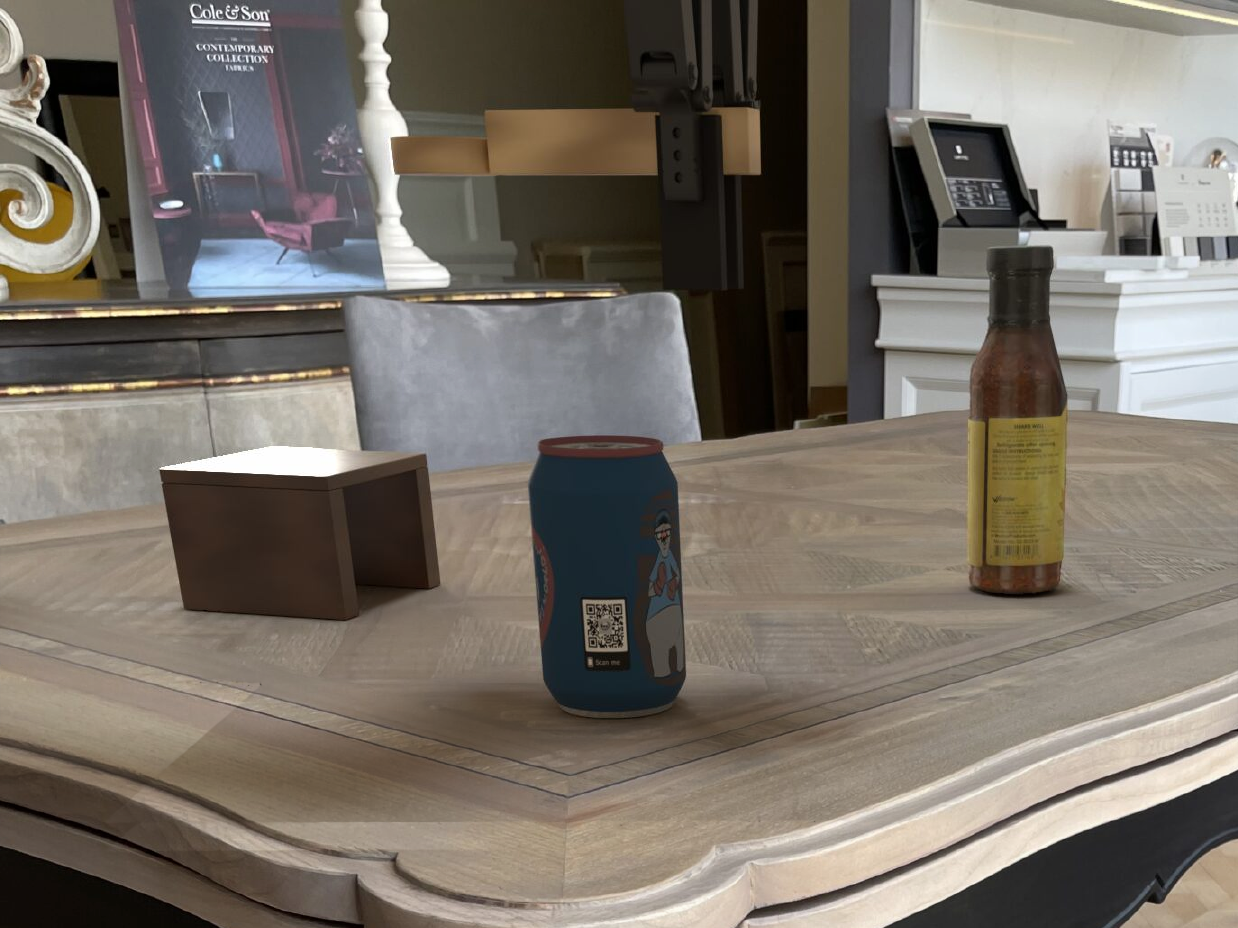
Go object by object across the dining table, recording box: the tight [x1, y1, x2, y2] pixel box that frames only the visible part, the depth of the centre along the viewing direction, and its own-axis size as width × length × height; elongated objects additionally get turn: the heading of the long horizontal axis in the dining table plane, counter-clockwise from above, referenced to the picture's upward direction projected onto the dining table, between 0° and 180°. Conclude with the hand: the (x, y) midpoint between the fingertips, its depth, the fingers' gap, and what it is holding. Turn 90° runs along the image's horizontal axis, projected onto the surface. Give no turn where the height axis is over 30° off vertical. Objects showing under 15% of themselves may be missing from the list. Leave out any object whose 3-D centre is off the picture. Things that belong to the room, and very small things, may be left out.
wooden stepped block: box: [388, 107, 762, 177], centre depth 73 cm, size 17×5×2 cm, turn 75°
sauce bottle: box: [967, 244, 1069, 595], centre depth 106 cm, size 7×6×20 cm
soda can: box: [527, 434, 687, 719], centre depth 81 cm, size 7×7×12 cm
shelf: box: [159, 446, 442, 621], centre depth 105 cm, size 11×12×8 cm
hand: (703, 287), depth 75 cm, fingers closed on wooden stepped block, 2 cm apart
